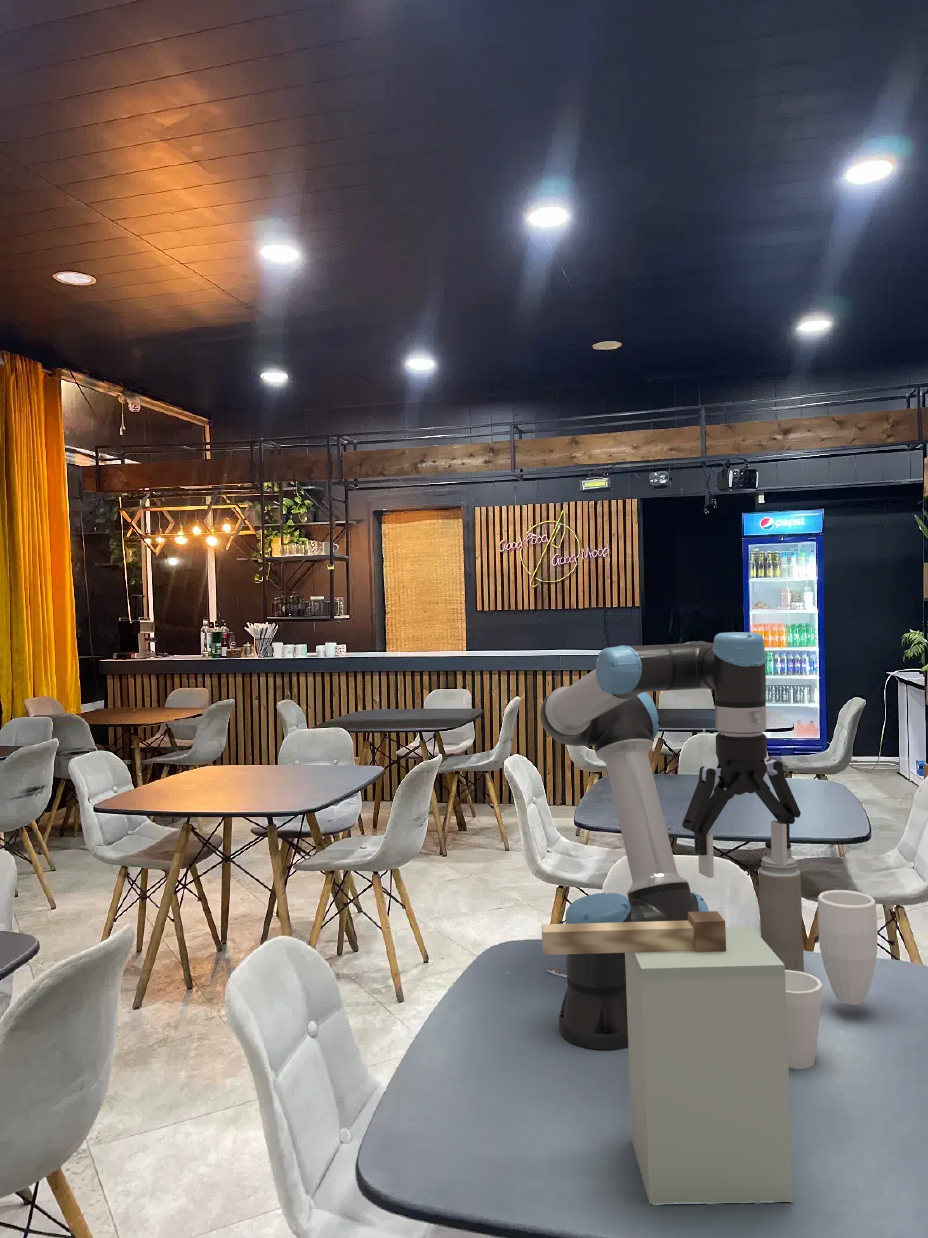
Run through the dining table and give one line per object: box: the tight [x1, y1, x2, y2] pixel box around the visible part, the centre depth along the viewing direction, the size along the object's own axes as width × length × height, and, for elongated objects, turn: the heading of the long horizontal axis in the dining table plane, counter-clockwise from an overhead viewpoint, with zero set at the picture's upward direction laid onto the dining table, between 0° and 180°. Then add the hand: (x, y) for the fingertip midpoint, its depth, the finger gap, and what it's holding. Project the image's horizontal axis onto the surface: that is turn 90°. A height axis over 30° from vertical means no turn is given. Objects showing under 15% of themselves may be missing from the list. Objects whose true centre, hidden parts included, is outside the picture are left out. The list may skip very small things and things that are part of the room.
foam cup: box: [785, 970, 824, 1070], centre depth 148 cm, size 10×9×13 cm
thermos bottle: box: [758, 840, 805, 973], centre depth 179 cm, size 8×8×28 cm
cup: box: [817, 889, 879, 1005], centre depth 163 cm, size 10×10×22 cm
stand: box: [625, 926, 794, 1205], centre depth 120 cm, size 18×14×30 cm
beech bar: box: [541, 910, 726, 956], centre depth 120 cm, size 24×4×4 cm, turn 89°
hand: (743, 869), depth 138 cm, fingers open, 13 cm apart
